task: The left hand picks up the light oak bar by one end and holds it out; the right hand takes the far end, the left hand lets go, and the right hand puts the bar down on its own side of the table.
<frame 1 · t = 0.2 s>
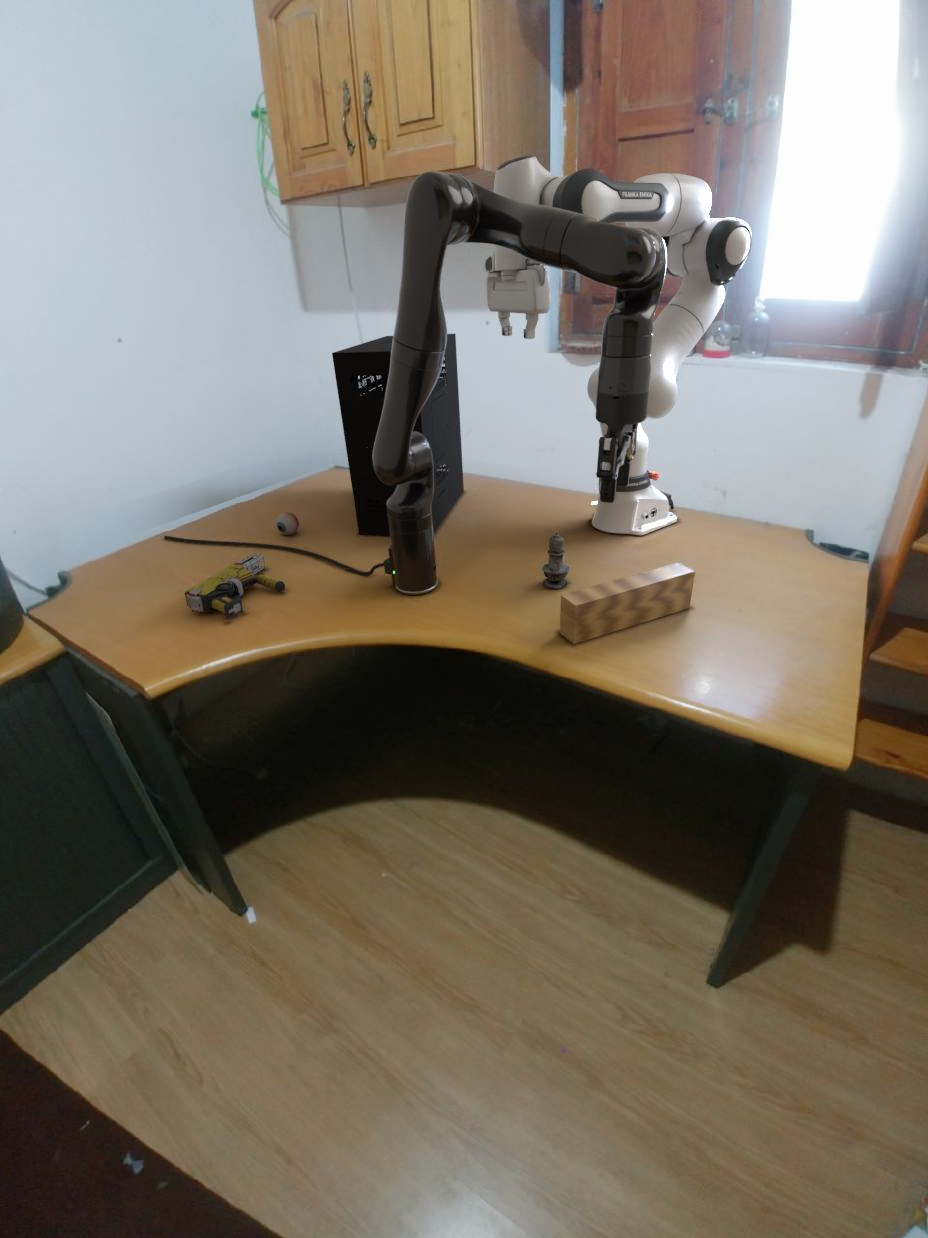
left hand: (614, 493, 97), 28 cm above the table, tool pointing down, fingers open, 8 cm apart
right hand: (517, 337, 125), 48 cm above the table, tool pointing down, fingers open, 8 cm apart
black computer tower: (415, 511, 176), on the table
bar: (626, 620, 117), on the table
weathered chess pawn: (555, 583, 132), on the table
eyeball: (289, 534, 165), on the table
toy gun: (249, 594, 135), on the table
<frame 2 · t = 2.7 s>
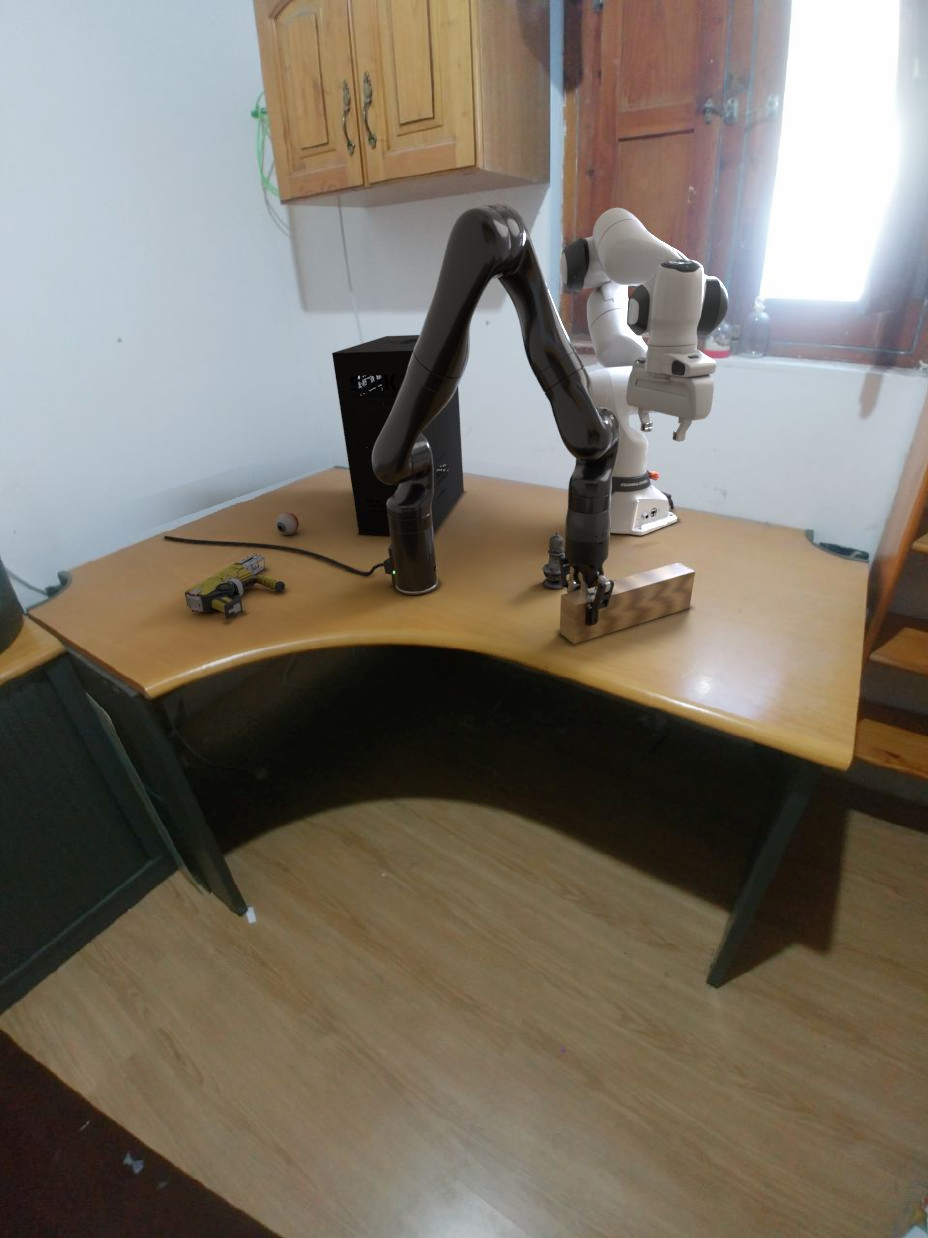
left hand: (582, 617, 111), 3 cm above the table, tool pointing down, fingers closed on bar, 4 cm apart
right hand: (661, 435, 119), 30 cm above the table, tool pointing down, fingers open, 8 cm apart
bar: (626, 620, 117), on the table, touching left hand
everything else where it was.
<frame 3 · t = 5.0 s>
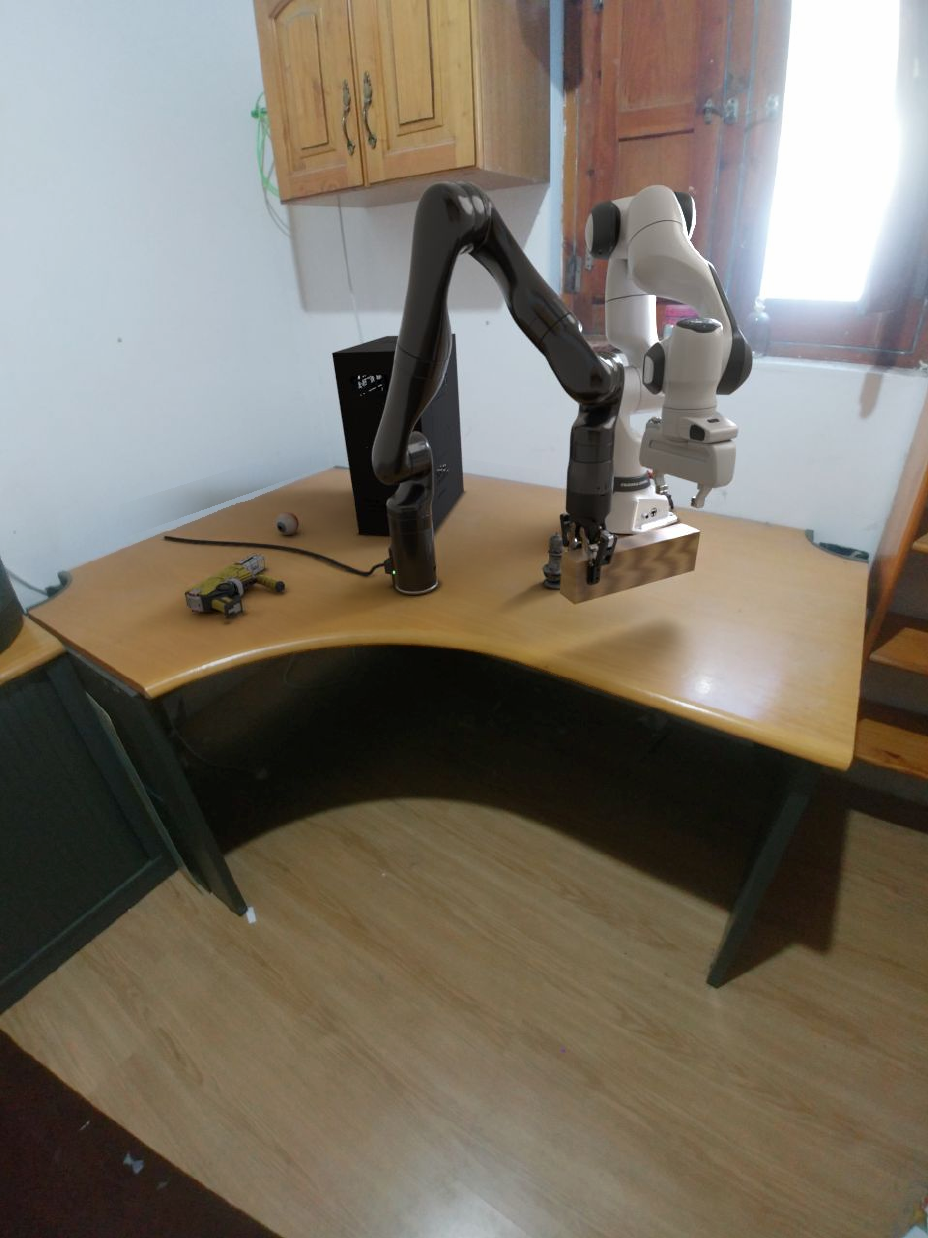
left hand: (584, 577, 107), 12 cm above the table, tool pointing down, fingers closed on bar, 4 cm apart
right hand: (678, 500, 111), 21 cm above the table, tool pointing down, fingers open, 8 cm apart
bar: (628, 581, 113), point 8 cm above the table, touching left hand
everything else where it was.
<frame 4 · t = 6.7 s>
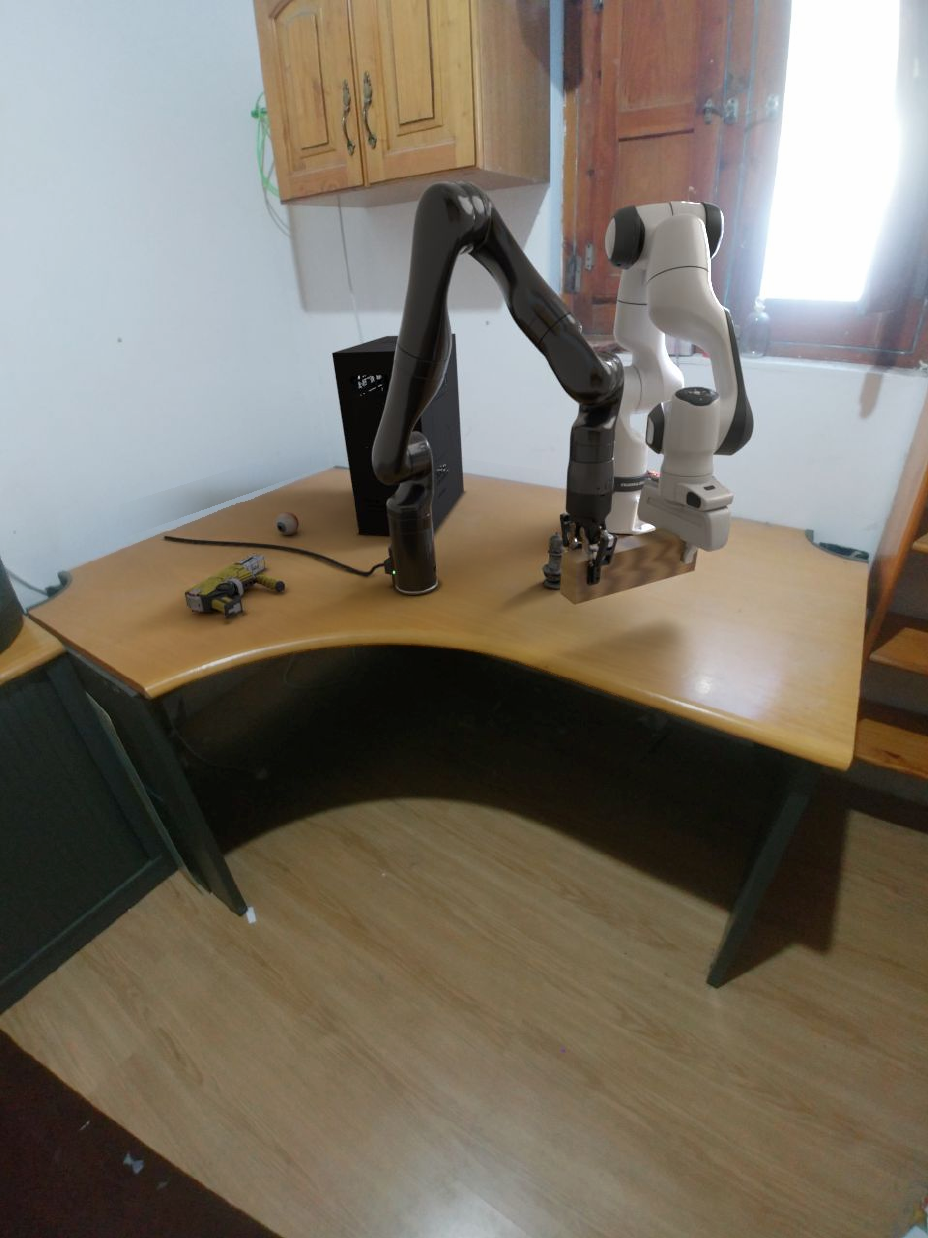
left hand: (584, 577, 107), 12 cm above the table, tool pointing down, fingers closed on bar, 4 cm apart
right hand: (674, 556, 115), 11 cm above the table, tool pointing down, fingers closed on bar, 5 cm apart
bar: (629, 582, 113), point 8 cm above the table, touching right hand, left hand
everything else where it was.
when the left hand's fingers open (12 cm above the table, at t = 7.7 s): bar stays where it is, held by the right hand.
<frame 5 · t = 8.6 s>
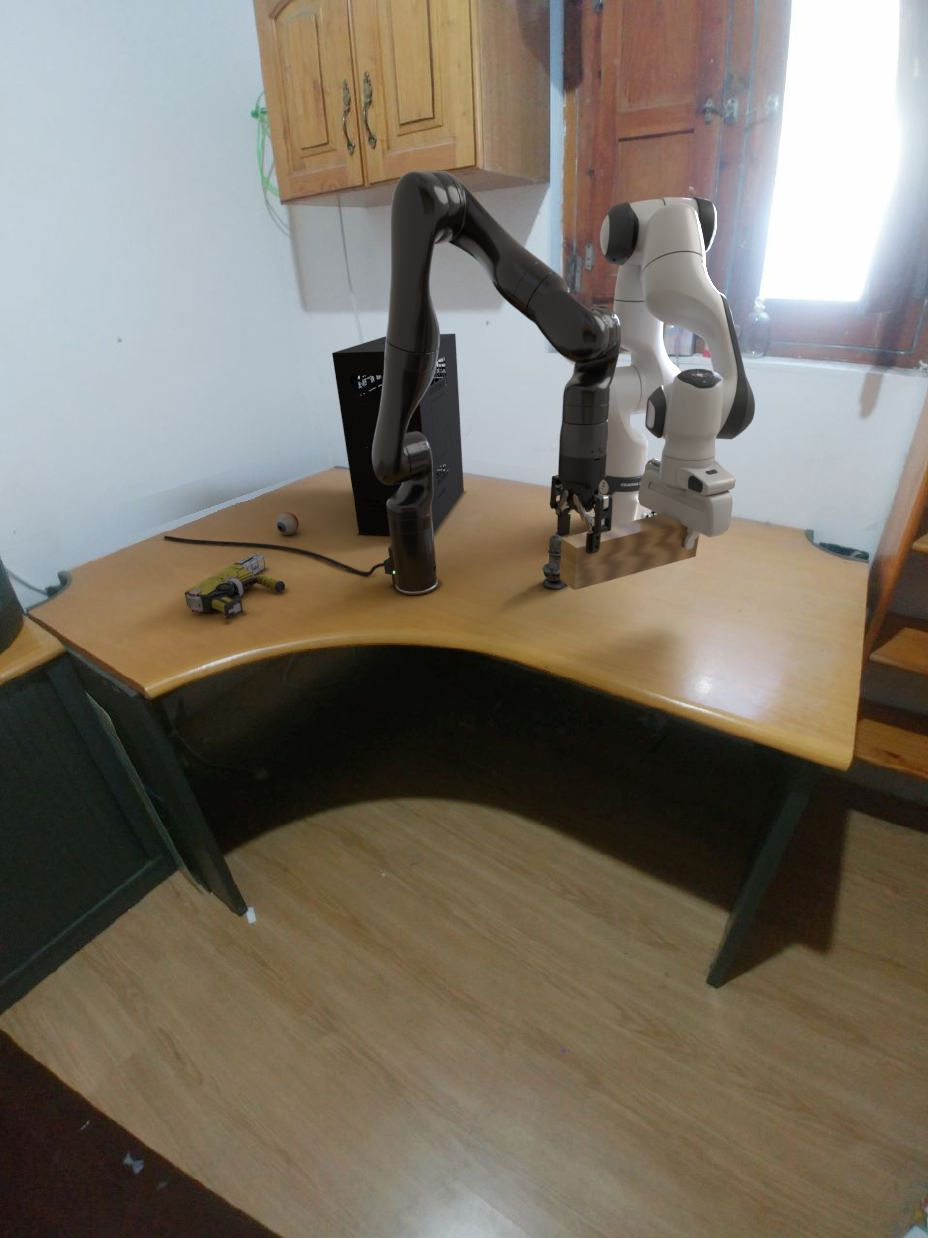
left hand: (577, 543, 103), 19 cm above the table, tool pointing down, fingers open, 8 cm apart
right hand: (675, 541, 113), 14 cm above the table, tool pointing down, fingers closed on bar, 5 cm apart
bar: (629, 567, 112), point 11 cm above the table, touching right hand
everything else where it was.
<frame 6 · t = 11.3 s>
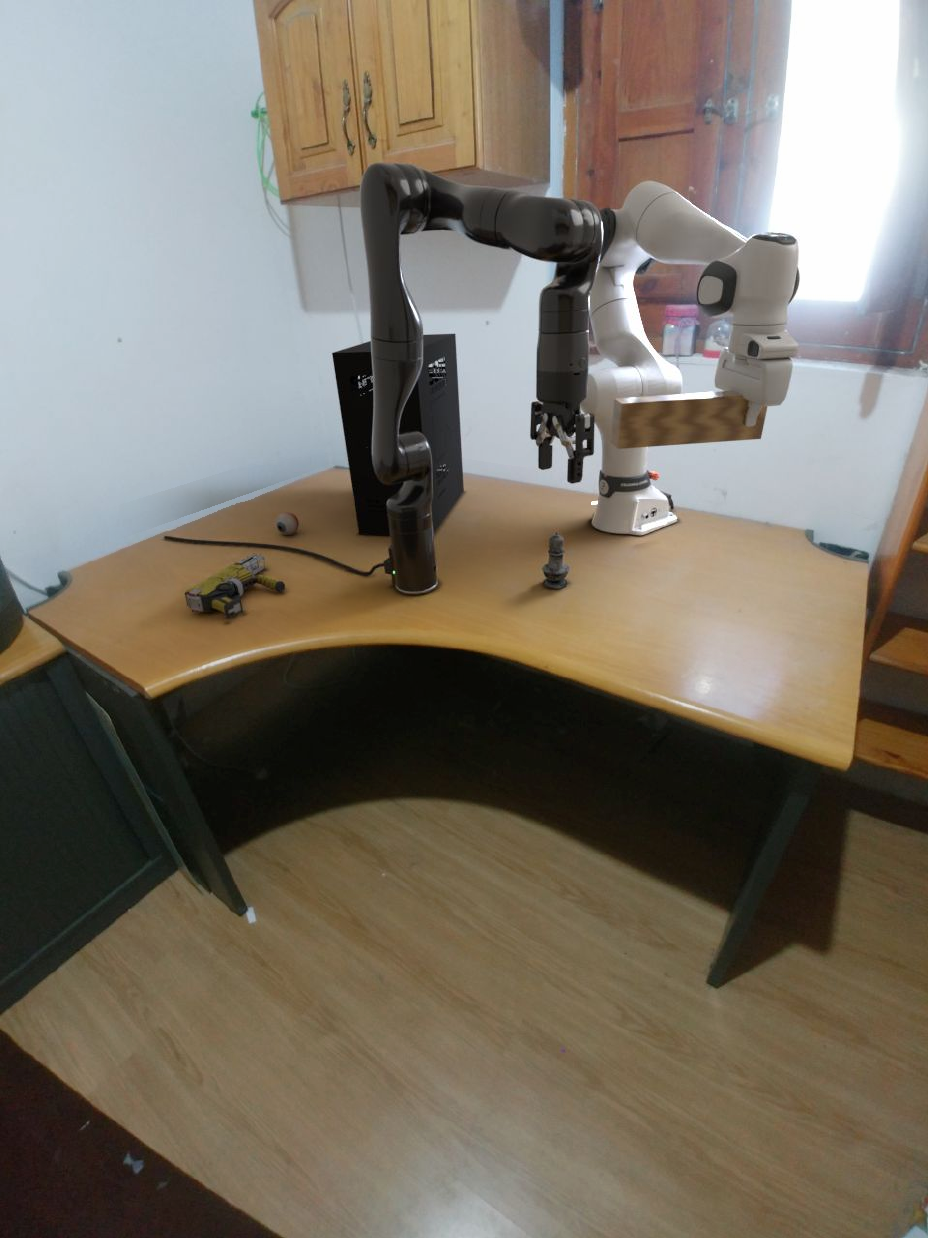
left hand: (559, 475, 96), 31 cm above the table, tool pointing down, fingers open, 8 cm apart
right hand: (740, 421, 113), 33 cm above the table, tool pointing down, fingers closed on bar, 5 cm apart
bar: (684, 440, 114), point 30 cm above the table, touching right hand
everything else where it was.
when the right hand's fingers open (4 cm above the table, at t = 16.1 s): bar drops 1 cm, on the table.
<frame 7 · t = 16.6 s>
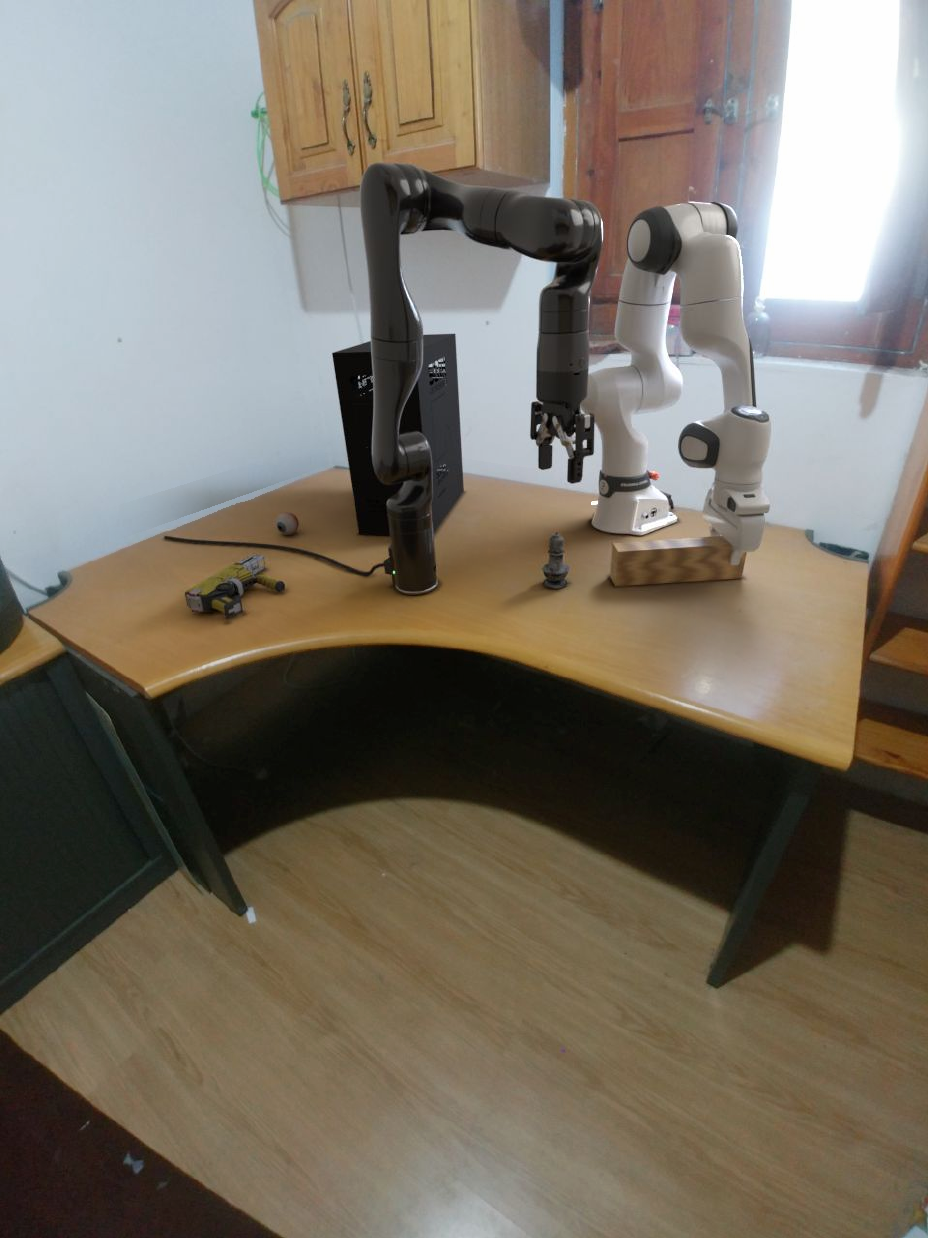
left hand: (559, 475, 96), 31 cm above the table, tool pointing down, fingers open, 8 cm apart
right hand: (723, 554, 129), 5 cm above the table, tool pointing down, fingers open, 8 cm apart
bar: (674, 577, 131), on the table
everything else where it was.
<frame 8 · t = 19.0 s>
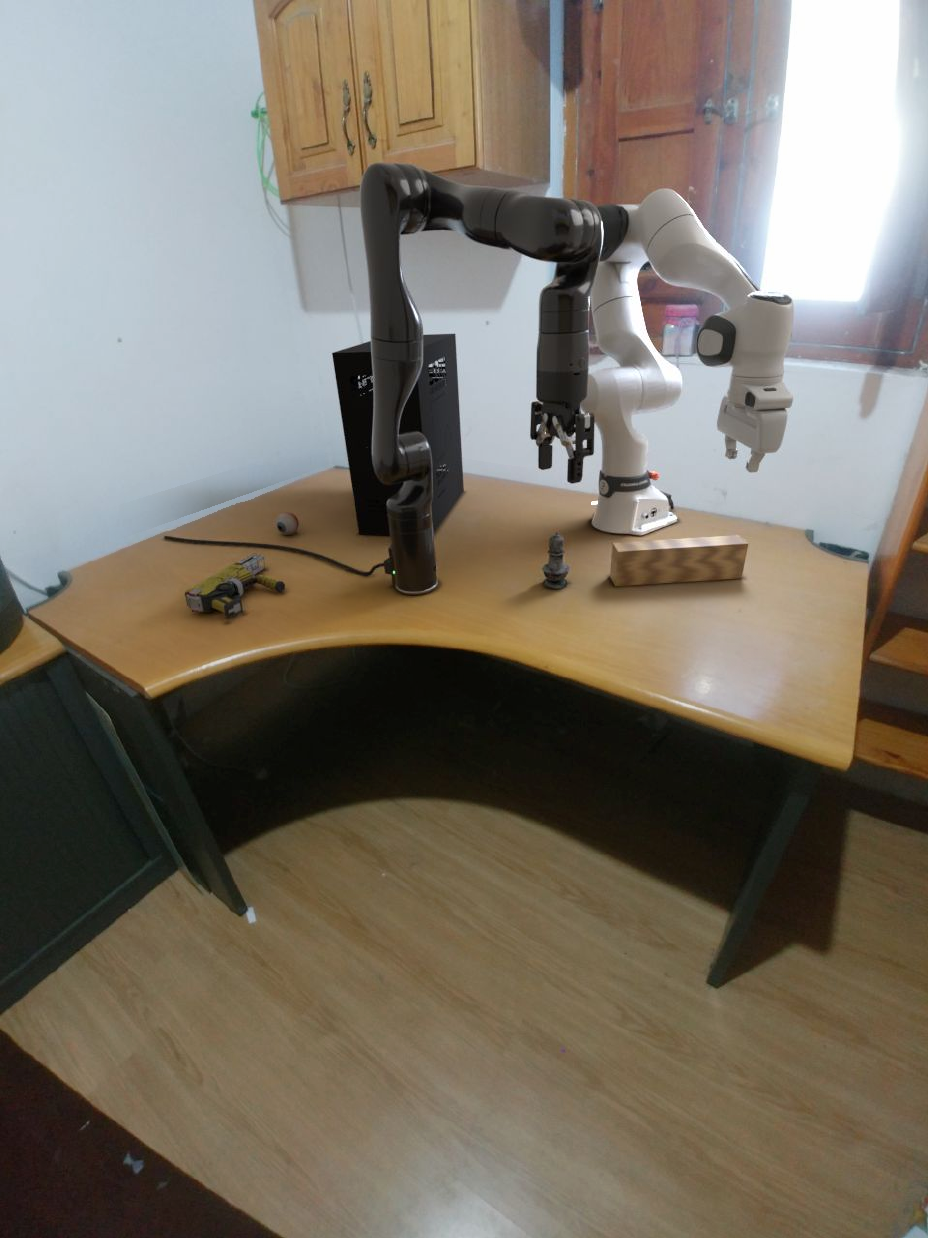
left hand: (559, 475, 96), 31 cm above the table, tool pointing down, fingers open, 8 cm apart
right hand: (740, 464, 119), 24 cm above the table, tool pointing down, fingers open, 8 cm apart
nothing on the table moved.
at the end: bar inside the target area (10.0 cm from its centre), on the table; the left hand is holding nothing; the right hand is holding nothing; bar at rest at the end (0.0 cm/s) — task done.
